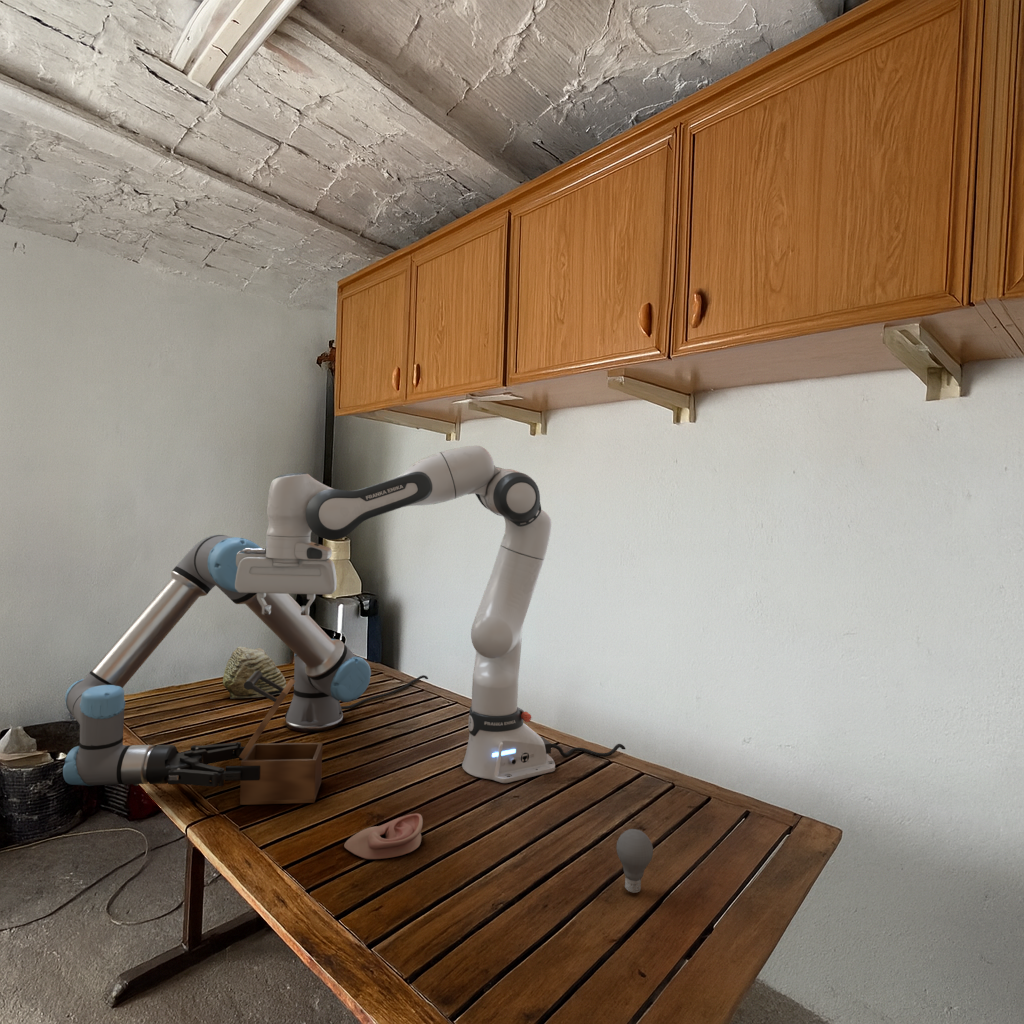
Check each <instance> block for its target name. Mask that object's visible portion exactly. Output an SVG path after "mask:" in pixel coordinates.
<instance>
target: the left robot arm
mask: <svg viewBox="0 0 1024 1024" xmlns="http://www.w3.org/2000/svg"><path fill="white" fill-rule="evenodd" d="M244 548H251V549H256V548H262V547H261V546H260V545H259V544H257V543H256V542H254V541H252V540H250V539H247V538H244V537H235V536H229V535H226V534H214V535H209V536H206V537H204V538H203V539H201V540H200V541H198V542H197V543H196V544H195V545H194V546H193V547H192V548H191V549H190V550H188V551H187V553H186V554H185V556H183V558H181V560H180V561H179V562H178V564H177V565H176V566H174V568H173V569H172V570H171V572H170V574H171V575H170V576H171V578H170V580H168V582H167V583H166V584H165V585H164V586H163V587H162V589H161V590H160V591H159V592H158V593H157V594H156V595H155V597H154V598H153V599H152V600H151V601H150V602H149V604H148V605H147V606H146V607H145V608H144V609H143V610H142V611H141V613H140V614H139V615H138V616H137V617H136V619H135V620H134V621H133V622H132V623H131V624H130V625H129V627H128V628H127V629H126V630H125V631H124V632H123V633H122V635H121V636H120V637H119V638H118V640H116V642H115V643H114V644H113V645H112V646H111V647H110V649H109V650H108V651H107V652H106V653H105V654H104V655H103V657H102V658H101V659H100V660H99V661H98V663H97V664H96V665H95V666H94V667H93V668H92V669H91V670H90V671H89V672H88V674H87V675H86V676H85V677H84V678H81V679H79V680H77V681H75V682H73V683H72V684H71V685H70V686H69V687H68V688H67V690H66V692H65V695H64V702H65V707H66V709H67V710H68V712H69V713H70V714H71V715H72V716H73V717H74V718H75V721H76V722H77V723H78V724H79V745H76V746H74V747H73V748H71V749H70V750H69V751H68V753H67V754H66V757H65V758H64V765H63V766H62V776H63V779H64V781H65V783H67V784H68V785H71V786H86V787H93V786H112V785H117V786H118V785H124V786H125V785H133V786H134V787H137V786H139V785H146V784H150V785H167V784H168V785H179V784H180V785H188V786H199V787H200V786H201V787H212V788H215V787H223V786H225V782H233V781H235V782H238V781H239V782H241V781H246V780H259V779H260V766H241V765H226V766H225V768H224V767H221V766H220V767H219V766H215V765H211V764H216V763H221V762H225V761H232V760H237V759H238V761H242V760H243V759H242V758H240V757H239V756H240V754H241V753H242V751H243V750H244V748H245V747H246V746H242V742H241V741H237V742H236V741H235V742H227V743H217V744H207V745H191V746H190V750H186V751H183V752H179V751H178V748H177V746H176V745H174V744H157V745H154V744H130V745H129V744H128V745H127V744H124V727H125V726H124V725H125V724H124V723H125V709H126V708H125V707H126V700H125V690H124V687H125V686H126V685H127V684H128V682H129V681H130V680H131V679H132V677H133V676H134V675H136V673H137V672H138V671H139V669H140V668H141V667H142V666H143V664H144V663H145V662H146V661H147V660H148V658H149V657H150V656H151V655H152V654H153V653H154V651H155V650H156V649H157V648H158V647H159V645H160V644H161V643H162V642H163V641H164V639H165V638H166V637H167V636H168V635H169V633H170V632H171V631H172V630H173V629H174V628H175V627H176V625H177V624H178V623H179V622H180V620H182V618H184V616H185V615H186V613H187V612H188V611H189V610H190V608H192V607H193V605H194V604H195V603H196V602H197V600H198V599H199V598H200V597H205V596H207V595H208V594H209V593H210V591H212V589H214V588H215V587H217V588H218V589H219V590H220V591H221V592H222V593H223V594H224V595H225V596H226V597H227V598H228V599H229V600H231V601H232V603H234V604H235V605H246V607H247V608H249V610H251V612H253V614H255V615H256V616H257V617H258V619H259V620H260V621H262V622H263V624H264V625H266V627H267V628H269V630H271V631H272V632H273V633H274V634H275V636H276V637H278V638H279V639H280V640H281V641H282V643H284V645H286V646H287V647H288V648H289V649H290V650H291V652H293V654H294V655H293V657H294V672H293V680H295V681H296V682H295V683H294V685H293V695H292V696H293V697H292V699H291V702H290V704H289V708H288V709H287V711H286V712H285V715H284V719H285V726H286V728H287V729H289V730H291V731H294V732H295V731H296V732H301V733H316V732H325V731H329V730H332V729H335V728H337V727H339V726H340V725H342V723H343V722H344V714H343V710H349V709H352V708H356V707H357V706H360V705H362V704H364V703H366V702H368V701H369V702H370V701H372V700H377V699H380V698H383V697H387V696H390V695H393V694H395V693H399V692H400V691H402V690H405V689H407V688H409V686H411V685H413V684H414V683H416V682H418V681H419V680H421V679H425V680H428V679H429V677H428V676H427V675H423V674H422V675H420V676H418V677H416V678H415V679H413V680H411V681H409V682H407V684H405V685H402V686H400V687H399V688H396V689H394V690H391V691H388V692H385V693H381V694H377V695H372V696H370V697H367V698H364V699H361V700H359V701H357V702H354V703H352V704H349V705H341V702H343V703H350V702H353V701H356V700H357V699H359V698H360V697H361V696H362V695H363V694H364V693H365V692H366V690H367V689H368V687H369V685H370V682H371V676H372V670H371V666H370V664H369V662H368V661H366V660H365V658H362V657H361V656H357V655H356V654H355V653H354V652H353V651H352V650H351V649H350V648H349V647H348V646H347V645H346V644H345V643H344V642H343V641H342V640H341V639H336V638H331V637H330V636H329V635H328V634H327V633H326V632H325V630H323V629H322V628H321V626H320V625H318V623H317V622H316V621H315V620H314V619H313V618H312V617H311V616H310V614H309V615H301V612H302V611H301V607H302V606H300V604H299V603H298V602H297V601H296V600H295V599H294V597H292V596H291V594H281V593H266V597H264V600H265V602H266V603H267V605H271V609H270V610H271V614H269V615H262V606H261V605H260V603H259V601H258V600H257V593H239V592H238V591H237V590H236V589H235V580H236V574H237V569H238V567H237V566H236V555H237V553H238V552H239V551H241V550H244ZM241 553H244V552H241ZM254 554H256V553H254Z"/></svg>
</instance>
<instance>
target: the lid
mask: <svg viewBox="0 0 1024 1024" xmlns="http://www.w3.org/2000/svg"><path fill="white" fill-rule="evenodd" d="M259 679H260V680H262V681H264V682H265V683H267V684H269V685H271V686H272V687H274V688H276V689H278V690H279V691H281V693H280V694H278V696H277V697H276V696H275V695H271V694H269V693H267V692H265V691H264V690H262V689H260V688H258V687H257V686H255V684H256V683H257V682H258V680H259ZM295 682H296V681H295V680H294V678H290V679H289V680H288V682H287V683H286V686H285V688H283V687H281V686H279V685H277V684H276V683H274V682H272V681H271V680H269V679H267V678H265V677H264V676H262V672H261V671H255V672H254V673H253V675H252V676H251V677H250V678H249V679H248V680H247V681H246V682H245V683H244V688H245V689H247V690H250V689H253V690H254V691H256V692H258V693H260V694H261V695H263V696H265V698H267V699H268V700H270V701H271V702H273V704H272V705H271V707H270V709H269V711H268V712H267V713H266V715H265V716H264V718H263V719H262V721H261V723H260V724H259V725H258V726H257V728H256V730H255V731H254V733H253V735H252V736H251V738H250V739H249V740H248V742H247V744H246V745H245V746H244V747H245V748H244V750H243V751H242V753H241V754H240V756H239V757H240V758H242V759H243V760H244V759H245V757H246V756H247V754H248V753H249V751H250V750H251V748H252V747H253V745H254V744H256V742H257V741H258V739H259V738H260V736H261V734H263V732H264V730H265V729H266V727H267V726H268V724H269V722H270V721H271V720H272V718H273V717H274V715H275V713H276V712H277V710H278V709H279V708H280V706H281V705H282V703H283V701H284V700H285V699H286V697H287V695H288V694H289V692H290V691H291V689H292V688H293V687H294V683H295Z"/></svg>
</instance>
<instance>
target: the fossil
mask: <svg viewBox="0 0 1024 1024" xmlns="http://www.w3.org/2000/svg"><path fill="white" fill-rule="evenodd" d="M255 671H261V672H262V676H264V677H265V678H267V679H269V680H271V681H272V682H274V683H276V684H277V685H279V686H281V687H283V688H285V686H286V685H287V680H286V678H285V676H284V674H283V673H282V672H281V669H279V668H278V667H277V665H276V663H275V662H274V660H273V659H272V658H271V657H270V656H269V655H268V654H267V653H266V652H265V650H264V649H263V648H260V647H258V648H251V647H247V646H246V647H245V646H238V647H237V648H236V649H235V650H233V651H232V653H231V656H230V657H229V659H228V660H227V663H226V666H225V668H224V671H223V675H222V676H223V677H222V685H223V687H224V688H225V690H226V691H228V693H229V698H230V699H250V698H264V697H265V696H263V695H261V694H260V693H258V692H256V691H254V690H253V689H250V690H247V689H245V688H244V683H245V682H246V681H247V680H248V679H249V678H250V677H251V676H252V675H253V673H254V672H255ZM255 686H257V687H258V688H260V689H262V690H264V691H265V692H267V693H269V694H271V695H272V696H275V695H280V694H281V691H279V690H278V689H276V688H274V687H272V686H271V685H269V684H267V683H265V682H264V681H262V680H260V679H259V680H258V682H257V683H256V684H255ZM265 698H266V697H265Z"/></svg>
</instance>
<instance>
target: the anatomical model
mask: <svg viewBox="0 0 1024 1024" xmlns="http://www.w3.org/2000/svg"><path fill="white" fill-rule="evenodd" d="M423 820H424V819H423V815H421V814H420V813H409V814H405V815H403V816H400V817H397V818H395V819H392V820H390V821H388V822H386V823H383V824H381V825H378V826H377V825H376V826H370V827H367V828H364V829H362V830H360V831H358V832H356V833H355V834H353V835H352V836H351V837H350V838H348V839H347V840H346V841H345V842H344V845H343V847H344V849H346V850H347V851H348V852H350V853H351V854H353V855H355V856H358V857H360V858H362V859H366V860H381V859H389V858H390V859H391V858H396V857H400V856H404V855H406V854H409V853H412V852H414V851H415V850H417V849H418V848H419V847H420V845H421V842H422V829H423V826H424V825H423V823H424V821H423Z"/></svg>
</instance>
